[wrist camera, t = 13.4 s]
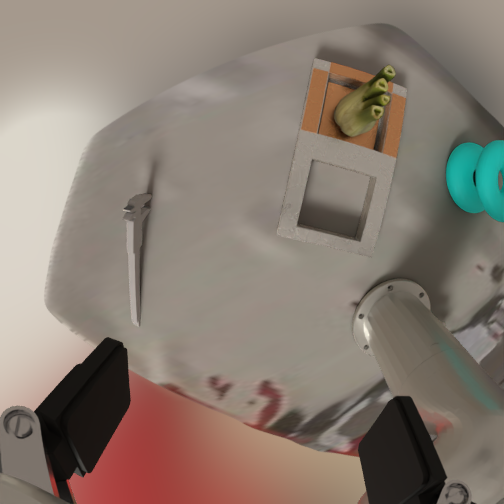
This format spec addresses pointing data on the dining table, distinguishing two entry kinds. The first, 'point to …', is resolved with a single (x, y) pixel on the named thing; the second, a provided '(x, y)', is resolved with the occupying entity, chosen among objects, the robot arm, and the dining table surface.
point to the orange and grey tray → (342, 156)
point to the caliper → (135, 249)
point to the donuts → (477, 178)
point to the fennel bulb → (364, 104)
